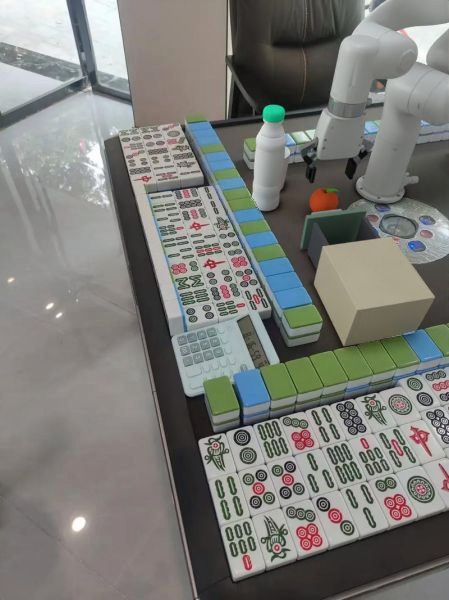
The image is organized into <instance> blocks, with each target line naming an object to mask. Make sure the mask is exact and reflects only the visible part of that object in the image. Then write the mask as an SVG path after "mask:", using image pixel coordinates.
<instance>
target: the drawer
mask: <svg viewBox="0 0 449 600" xmlns="http://www.w3.org/2000/svg"><path fill="white" fill-rule="evenodd" d="M366 215H367V209H366V208H365V207H361V208H353V209H351V208H350V209H344V210H342V208H336V210H329V211H321V212H313V211H312V212H311V214H307V215H305V219H304V224H303V229H302V234H301V239H300V240H301V241H300V246H299V247H300V249H301V250H307V254H308V256H309V258H310V260H311V262H312V264H313V266H314V268H315V270H316V271H317V268H318V264H319V260H320V256H321V252H322V247H323V246H329V245H336V244H343V243H350V242H357V241H365V240H372V239H379V238H381V236H380V235H379V233H378V231H376V229H375V227H374V226H373V225H372V223H371V221H370V220H369V219H368V217H367V216H366Z"/></svg>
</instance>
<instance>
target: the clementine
mask: <svg viewBox="0 0 449 600" xmlns="http://www.w3.org/2000/svg"><path fill="white" fill-rule="evenodd" d="M336 192H338V193H339V195H340V196H341V193H340V191H339V190H338V189H336V188H333V187H332V188H331V187H320V188H318V189H316V190H315V191H314V192H312V194H311V195H310V198H309V208H310V210H311V212H312V213H313V212H321V211H329V210H337V209H338V206H339V198H338V195H337V194H336Z"/></svg>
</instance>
